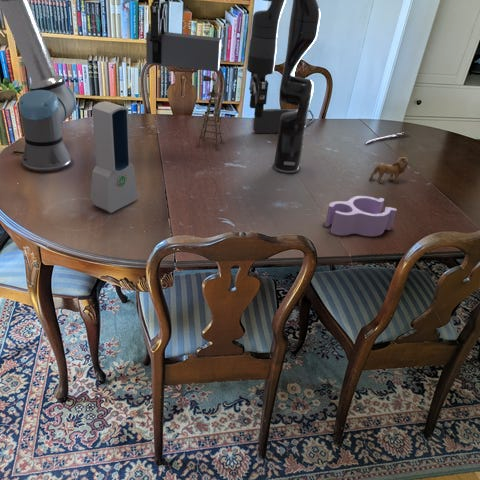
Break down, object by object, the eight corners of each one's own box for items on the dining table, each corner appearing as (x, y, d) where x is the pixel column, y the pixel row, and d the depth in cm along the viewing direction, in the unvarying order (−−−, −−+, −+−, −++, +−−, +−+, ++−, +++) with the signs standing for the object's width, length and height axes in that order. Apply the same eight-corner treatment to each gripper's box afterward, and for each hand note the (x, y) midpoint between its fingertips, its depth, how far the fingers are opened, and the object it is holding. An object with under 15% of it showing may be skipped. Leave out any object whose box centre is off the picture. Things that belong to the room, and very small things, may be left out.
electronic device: (108, 214, 135) (101, 113, 119) (90, 206, 138) (81, 106, 122) (138, 199, 144) (135, 103, 128) (120, 191, 147) (115, 96, 131)
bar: (146, 63, 152) (146, 32, 147) (150, 60, 157) (149, 30, 152) (217, 71, 152) (219, 41, 147) (219, 68, 156) (221, 38, 151)
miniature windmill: (217, 149, 184) (223, 71, 168) (196, 146, 185) (200, 68, 169) (222, 142, 191) (228, 66, 175) (203, 138, 192) (206, 63, 176)
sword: (404, 132, 223) (404, 129, 222) (409, 134, 221) (409, 132, 220) (360, 143, 207) (361, 141, 206) (365, 146, 205) (366, 143, 204)
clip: (337, 240, 135) (342, 219, 131) (318, 218, 145) (322, 198, 141) (395, 233, 141) (402, 213, 137) (373, 213, 151) (378, 194, 147)
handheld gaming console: (299, 130, 212) (303, 108, 207) (302, 132, 210) (305, 110, 205) (252, 131, 205) (254, 109, 200) (254, 133, 203) (257, 111, 198)
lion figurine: (397, 176, 178) (404, 154, 173) (406, 182, 174) (413, 159, 169) (364, 178, 173) (370, 156, 168) (373, 185, 169) (379, 162, 164)
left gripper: (164, -16, 134) (164, 68, 146) (176, -20, 149) (175, 56, 162) (139, -19, 134) (140, 65, 146) (153, -23, 149) (153, 54, 162)
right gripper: (280, 60, 122) (272, 121, 131) (270, 49, 134) (263, 105, 142) (252, 58, 121) (246, 120, 129) (244, 47, 132) (239, 104, 141)
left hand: (158, 60), depth 154 cm, fingers closed on bar, 5 cm apart
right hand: (255, 112), depth 136 cm, fingers open, 8 cm apart
